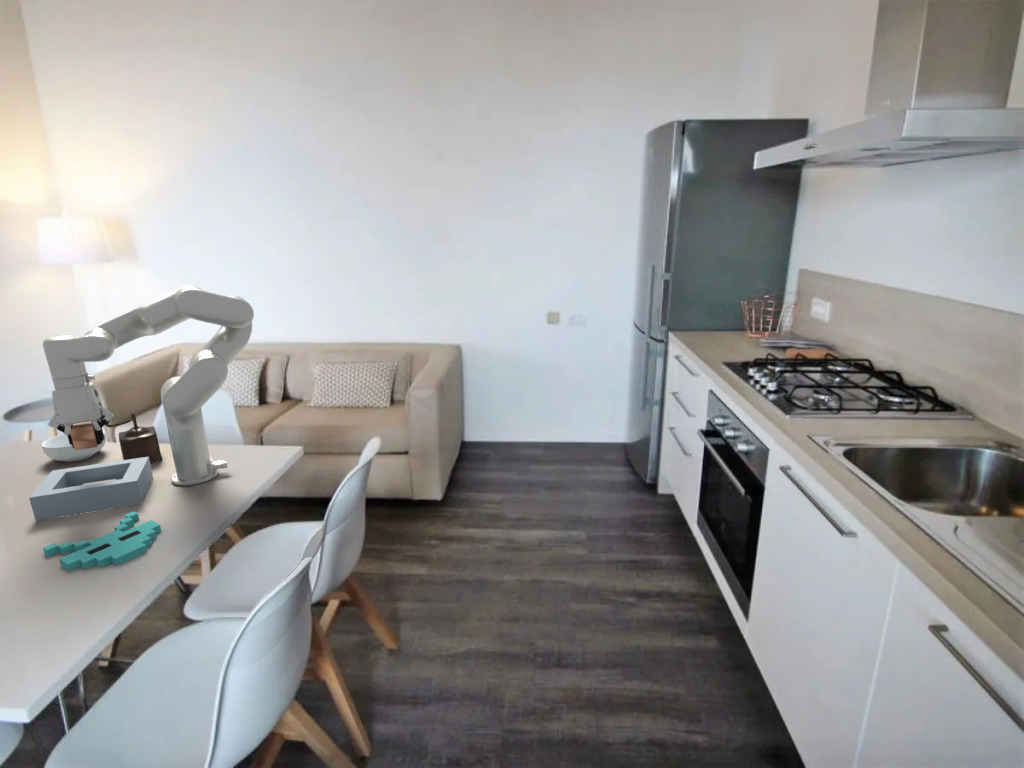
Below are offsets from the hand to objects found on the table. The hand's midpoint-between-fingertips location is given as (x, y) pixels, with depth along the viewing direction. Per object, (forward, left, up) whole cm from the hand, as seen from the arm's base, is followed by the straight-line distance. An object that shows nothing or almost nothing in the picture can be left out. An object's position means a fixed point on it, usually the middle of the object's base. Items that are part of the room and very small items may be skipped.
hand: (88, 443), depth 156 cm
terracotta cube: (0, 0, -1) cm, 1 cm away
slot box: (0, 0, -17) cm, 16 cm away
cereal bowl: (+14, -38, -17) cm, 44 cm away
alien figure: (-9, +31, -17) cm, 37 cm away
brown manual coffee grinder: (-4, -26, -17) cm, 31 cm away
